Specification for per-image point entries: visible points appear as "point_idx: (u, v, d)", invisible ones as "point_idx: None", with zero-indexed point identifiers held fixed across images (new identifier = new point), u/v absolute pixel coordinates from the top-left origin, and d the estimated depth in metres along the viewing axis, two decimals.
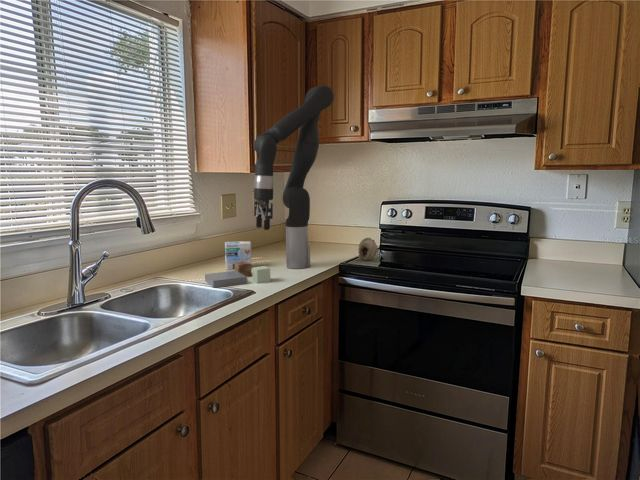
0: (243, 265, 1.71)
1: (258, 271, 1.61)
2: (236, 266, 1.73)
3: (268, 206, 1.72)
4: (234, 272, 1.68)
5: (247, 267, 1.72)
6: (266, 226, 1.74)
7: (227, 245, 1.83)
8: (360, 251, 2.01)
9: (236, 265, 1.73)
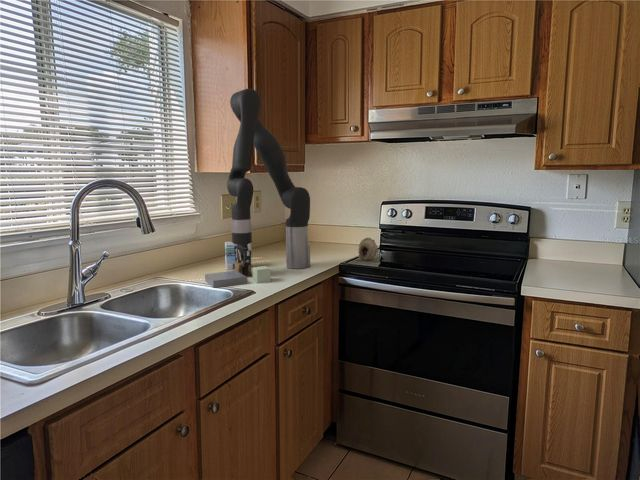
0: None
1: (258, 271, 1.61)
2: (236, 266, 1.73)
3: (247, 254, 1.67)
4: (234, 272, 1.68)
5: None
6: (245, 273, 1.70)
7: (227, 245, 1.83)
8: (360, 251, 2.01)
9: (236, 265, 1.73)
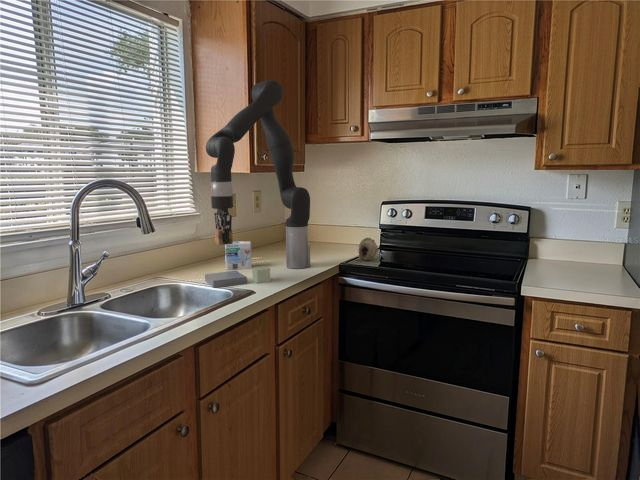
0: None
1: (258, 271, 1.61)
2: (216, 233, 1.60)
3: (227, 219, 1.55)
4: (234, 272, 1.68)
5: None
6: (225, 240, 1.58)
7: (227, 245, 1.83)
8: (360, 251, 2.01)
9: (216, 232, 1.60)
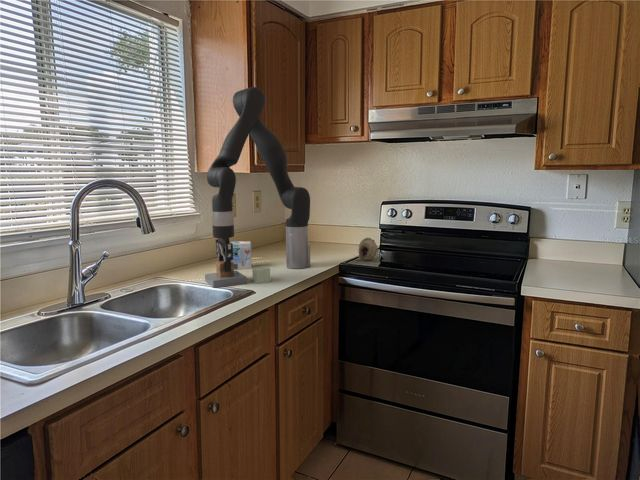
0: None
1: (258, 271, 1.61)
2: (217, 265, 1.62)
3: (228, 247, 1.56)
4: (234, 272, 1.68)
5: None
6: (227, 268, 1.59)
7: None
8: (360, 251, 2.01)
9: (217, 264, 1.62)
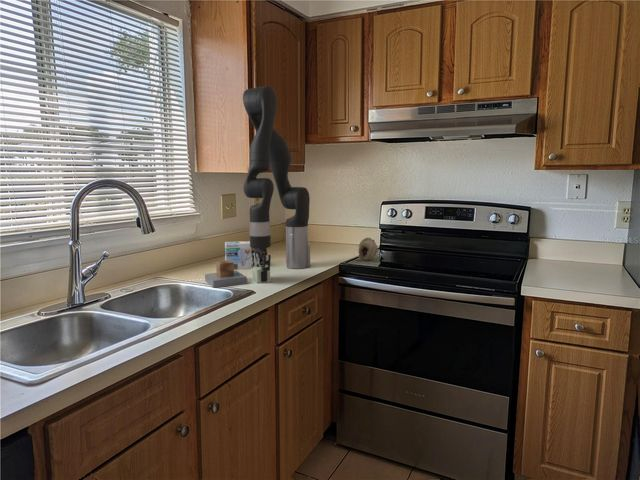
0: (225, 264, 1.61)
1: (258, 271, 1.61)
2: (217, 265, 1.62)
3: (266, 259, 1.58)
4: (234, 272, 1.68)
5: (229, 266, 1.61)
6: (263, 278, 1.61)
7: (227, 245, 1.83)
8: (360, 251, 2.01)
9: (217, 264, 1.62)
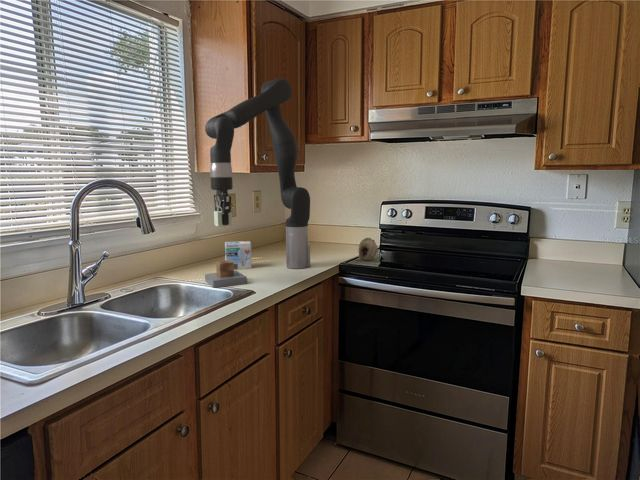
0: (225, 264, 1.61)
1: (219, 213, 1.57)
2: (217, 265, 1.62)
3: (226, 200, 1.54)
4: (234, 272, 1.68)
5: (229, 266, 1.61)
6: (224, 221, 1.57)
7: (227, 245, 1.83)
8: (360, 251, 2.01)
9: (217, 264, 1.62)
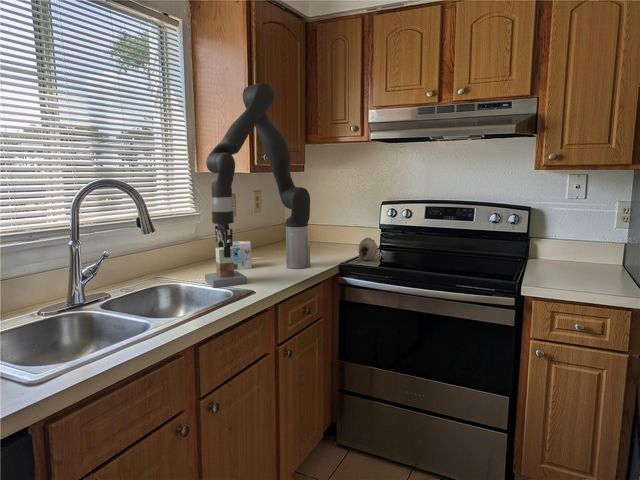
0: (225, 264, 1.61)
1: (220, 251, 1.59)
2: (217, 265, 1.62)
3: (228, 233, 1.55)
4: (234, 272, 1.68)
5: (229, 266, 1.61)
6: (226, 254, 1.58)
7: None
8: (360, 251, 2.01)
9: (217, 264, 1.62)
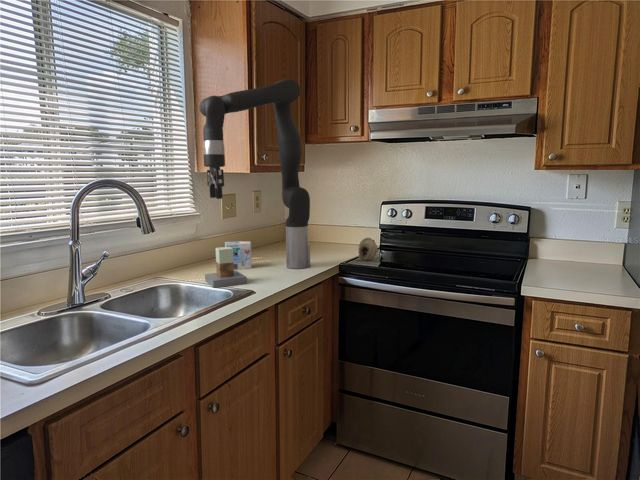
0: (225, 264, 1.61)
1: (220, 251, 1.59)
2: (217, 265, 1.62)
3: (219, 173, 1.59)
4: (234, 272, 1.68)
5: (229, 266, 1.61)
6: (218, 195, 1.61)
7: (227, 245, 1.83)
8: (360, 251, 2.01)
9: (217, 264, 1.62)
